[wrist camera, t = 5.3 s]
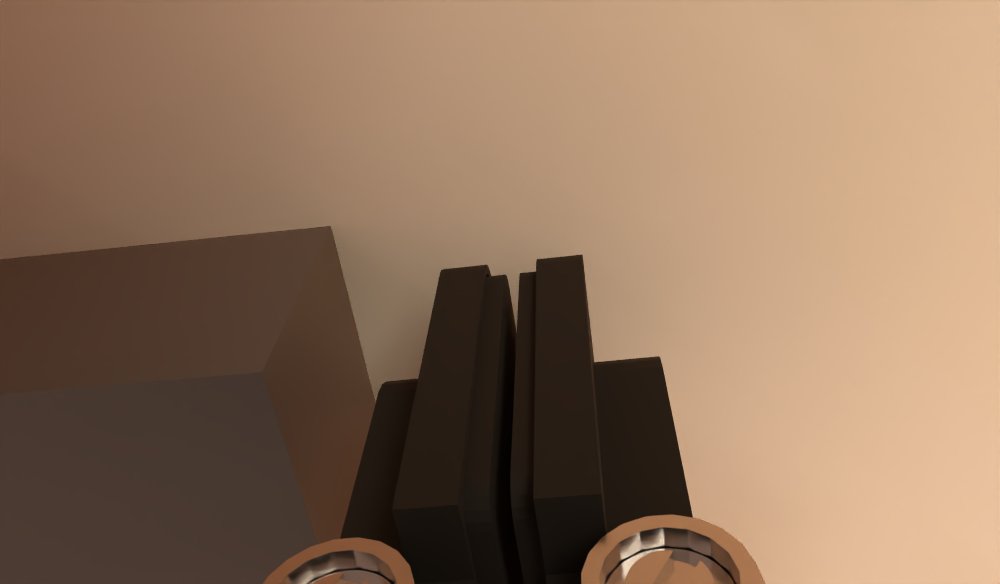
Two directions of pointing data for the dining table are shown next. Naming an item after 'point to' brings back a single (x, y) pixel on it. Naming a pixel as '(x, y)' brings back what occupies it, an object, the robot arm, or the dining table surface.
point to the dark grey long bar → (177, 409)
